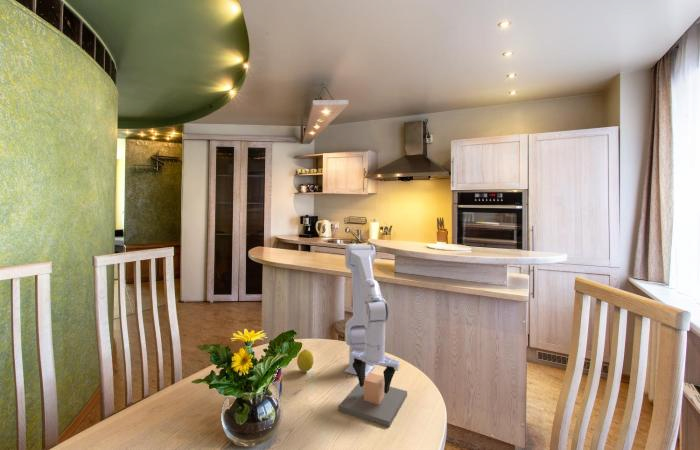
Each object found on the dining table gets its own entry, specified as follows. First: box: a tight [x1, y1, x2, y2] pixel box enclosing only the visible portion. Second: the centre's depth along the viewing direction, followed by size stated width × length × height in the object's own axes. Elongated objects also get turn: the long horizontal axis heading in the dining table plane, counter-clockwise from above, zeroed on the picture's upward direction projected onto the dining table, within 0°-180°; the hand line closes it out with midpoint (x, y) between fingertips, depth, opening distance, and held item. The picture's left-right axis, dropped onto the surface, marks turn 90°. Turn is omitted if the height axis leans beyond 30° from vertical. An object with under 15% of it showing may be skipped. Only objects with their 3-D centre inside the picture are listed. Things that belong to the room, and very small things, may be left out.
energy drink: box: [272, 367, 283, 397], centre depth 99 cm, size 5×5×12 cm
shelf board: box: [338, 382, 408, 428], centre depth 96 cm, size 16×15×2 cm
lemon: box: [296, 348, 314, 373], centre depth 113 cm, size 6×6×8 cm
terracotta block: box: [364, 372, 385, 404], centre depth 96 cm, size 5×5×6 cm
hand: (374, 388), depth 96 cm, fingers open, 7 cm apart
